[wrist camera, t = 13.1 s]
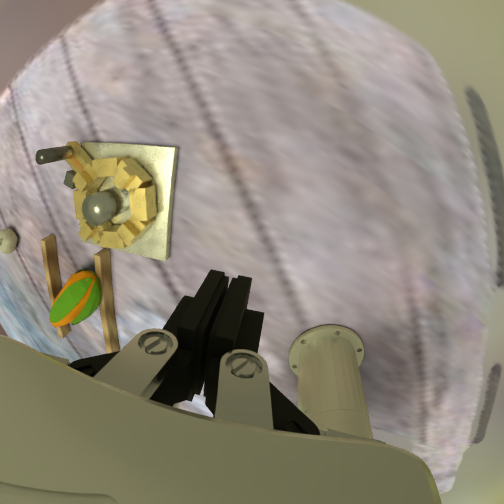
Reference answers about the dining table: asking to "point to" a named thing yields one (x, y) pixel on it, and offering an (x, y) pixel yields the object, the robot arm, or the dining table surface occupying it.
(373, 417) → the dining table surface
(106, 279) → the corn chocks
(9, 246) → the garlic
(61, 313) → the corn
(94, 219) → the housing plate
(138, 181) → the tan angular piece
